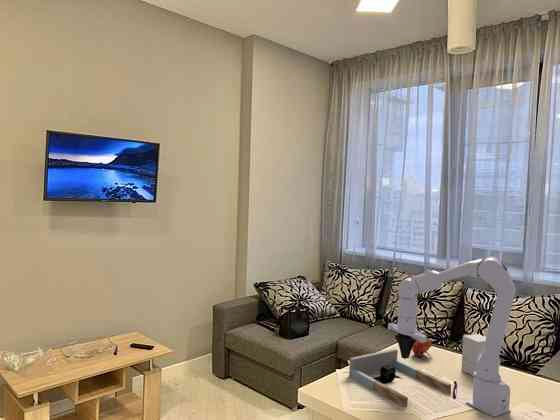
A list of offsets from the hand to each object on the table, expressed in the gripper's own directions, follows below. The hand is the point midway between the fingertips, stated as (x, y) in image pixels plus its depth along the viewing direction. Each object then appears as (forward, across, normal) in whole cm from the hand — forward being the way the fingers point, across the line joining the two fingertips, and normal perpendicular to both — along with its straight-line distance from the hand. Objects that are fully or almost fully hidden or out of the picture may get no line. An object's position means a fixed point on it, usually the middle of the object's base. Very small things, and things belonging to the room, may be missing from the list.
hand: (405, 357), depth 143 cm
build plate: (+10, +7, 0) cm, 12 cm away
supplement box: (+10, -4, -32) cm, 34 cm away
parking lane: (+9, +2, 0) cm, 10 cm away
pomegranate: (+10, +16, -27) cm, 33 cm away
